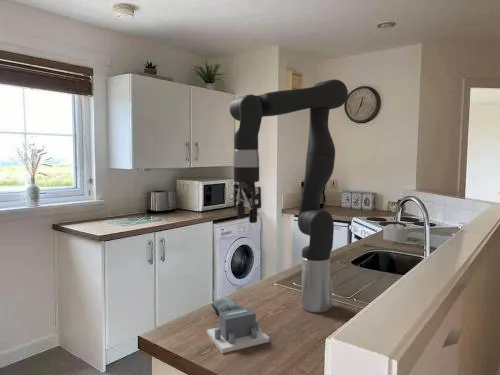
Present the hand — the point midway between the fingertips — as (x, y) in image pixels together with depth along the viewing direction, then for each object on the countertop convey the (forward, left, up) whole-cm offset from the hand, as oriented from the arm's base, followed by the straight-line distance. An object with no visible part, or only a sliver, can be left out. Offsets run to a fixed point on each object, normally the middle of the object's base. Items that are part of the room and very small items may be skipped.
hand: (246, 220), depth 114 cm
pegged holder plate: (+6, +6, -32) cm, 33 cm away
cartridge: (+6, +6, -31) cm, 32 cm away
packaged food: (+2, -9, -32) cm, 34 cm away
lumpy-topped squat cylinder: (-126, -64, -32) cm, 145 cm away
